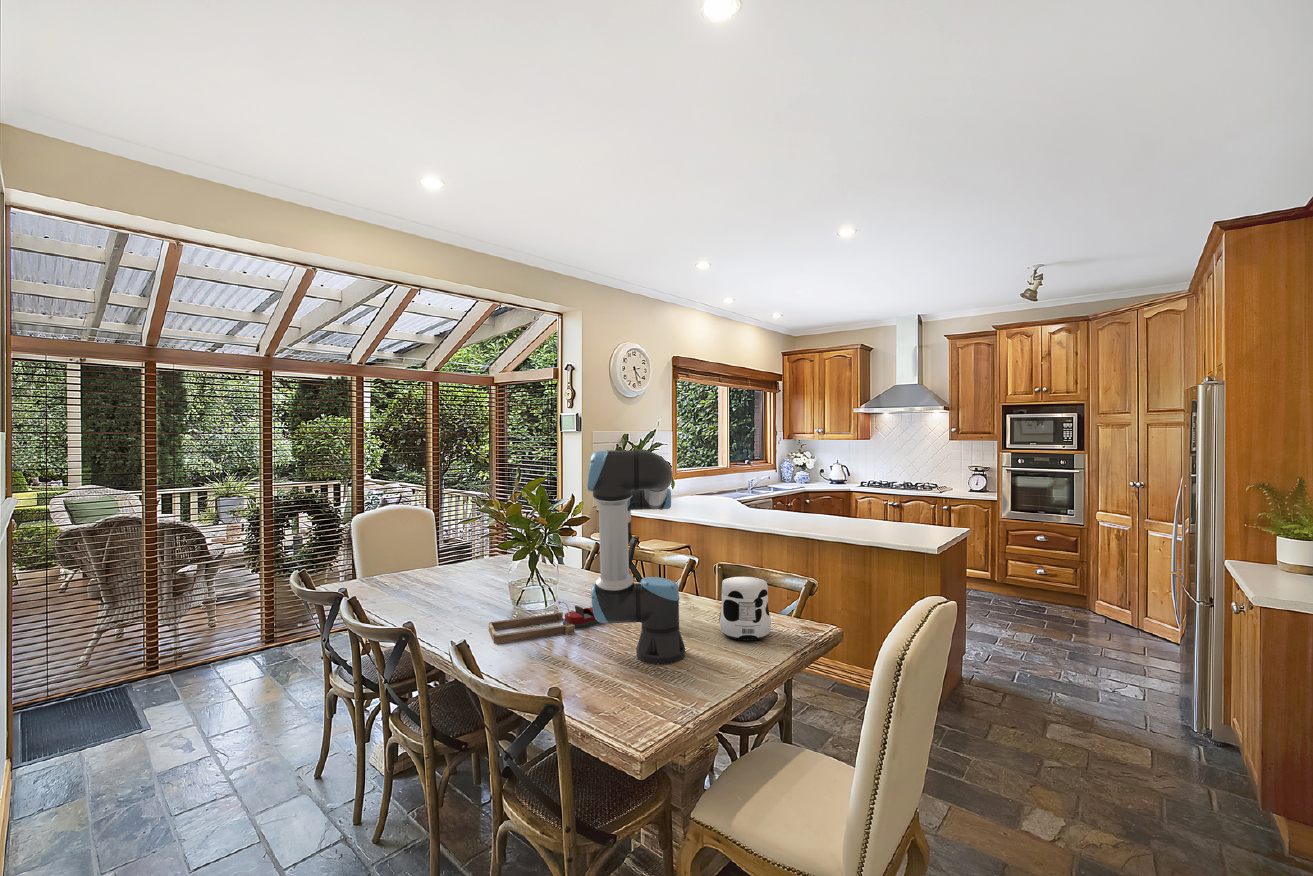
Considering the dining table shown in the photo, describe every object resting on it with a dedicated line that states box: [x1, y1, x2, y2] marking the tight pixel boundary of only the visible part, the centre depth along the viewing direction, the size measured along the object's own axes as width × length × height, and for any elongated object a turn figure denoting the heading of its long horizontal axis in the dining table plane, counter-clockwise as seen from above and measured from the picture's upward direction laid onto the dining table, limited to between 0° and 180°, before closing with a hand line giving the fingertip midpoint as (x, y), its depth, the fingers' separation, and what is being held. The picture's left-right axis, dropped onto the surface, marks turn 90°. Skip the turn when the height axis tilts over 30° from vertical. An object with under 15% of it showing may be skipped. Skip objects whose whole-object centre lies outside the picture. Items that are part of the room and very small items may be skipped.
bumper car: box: [557, 600, 601, 630], centre depth 209 cm, size 10×20×10 cm, turn 130°
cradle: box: [488, 611, 576, 645], centre depth 201 cm, size 19×27×2 cm
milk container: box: [718, 576, 772, 641], centre depth 194 cm, size 17×17×18 cm
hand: (621, 584), depth 215 cm, fingers closed
